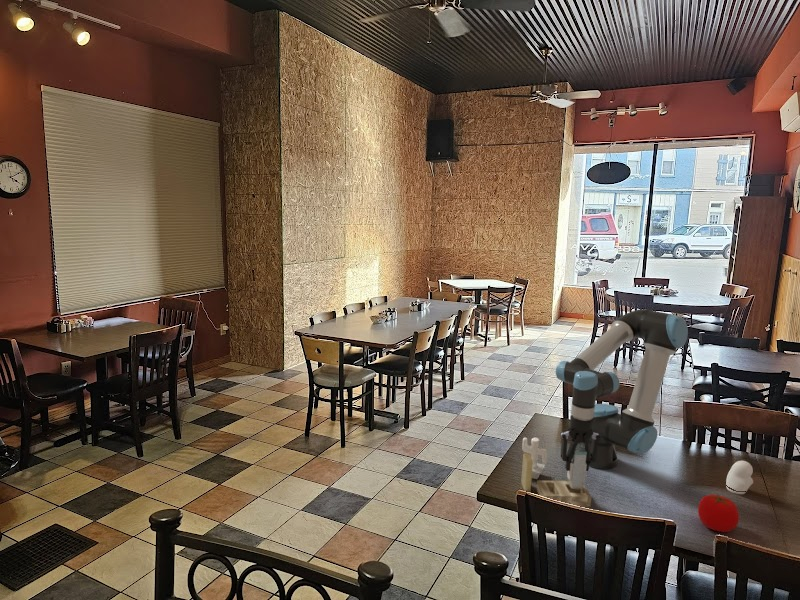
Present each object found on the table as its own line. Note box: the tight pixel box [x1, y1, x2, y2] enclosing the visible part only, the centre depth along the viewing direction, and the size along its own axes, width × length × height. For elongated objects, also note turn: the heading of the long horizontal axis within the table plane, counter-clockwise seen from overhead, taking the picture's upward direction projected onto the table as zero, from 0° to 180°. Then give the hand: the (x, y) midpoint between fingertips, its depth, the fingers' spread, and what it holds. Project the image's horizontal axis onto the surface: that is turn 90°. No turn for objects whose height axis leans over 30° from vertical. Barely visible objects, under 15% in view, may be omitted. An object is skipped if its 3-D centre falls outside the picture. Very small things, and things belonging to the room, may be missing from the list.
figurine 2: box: [725, 460, 754, 495], centre depth 194 cm, size 7×8×12 cm
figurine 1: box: [521, 436, 548, 480], centre depth 201 cm, size 7×9×15 cm
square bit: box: [567, 445, 587, 489], centre depth 184 cm, size 4×4×14 cm
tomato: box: [697, 494, 740, 533], centre depth 172 cm, size 11×12×10 cm
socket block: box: [536, 479, 592, 508], centre depth 186 cm, size 16×10×4 cm, turn 90°
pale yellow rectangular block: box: [520, 452, 533, 493], centre depth 192 cm, size 2×6×12 cm, turn 0°
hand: (575, 478), depth 185 cm, fingers closed on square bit, 4 cm apart
